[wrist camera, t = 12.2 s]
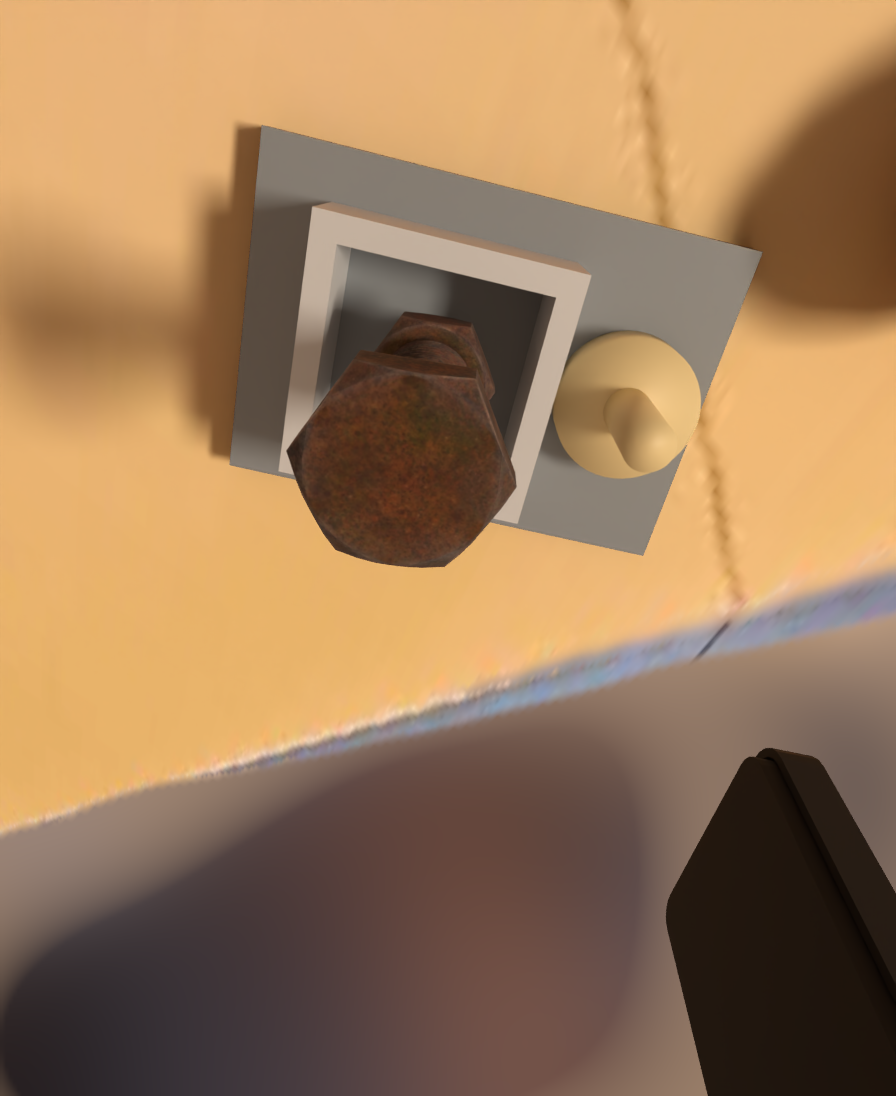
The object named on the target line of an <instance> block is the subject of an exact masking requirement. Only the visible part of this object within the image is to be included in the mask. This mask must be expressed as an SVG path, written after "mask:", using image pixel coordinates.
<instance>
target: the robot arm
mask: <svg viewBox="0 0 896 1096" xmlns="http://www.w3.org/2000/svg"><path fill="white" fill-rule="evenodd" d="M666 924H667V930H668V934H669V938H670V942H671V946H672V950H673V954H674V959H675V962H676V967H677V971H678V975H679V979H680V983H681V987H682V992H683V996H684V1000H685V1004H686V1008H687V1012H688V1016H689V1020H690V1024H691V1028H692V1032H693V1037H694V1041H695V1045H696V1049H697V1053H698V1057H699V1061H700V1065H701V1069H702V1074H703V1078H704V1082H705V1086H706V1090H707V1094H708V1096H896V893H895V891H894V889H893V887H892V886H891V884H890V882H889V880H888V879H887V877H886V875H885V873H884V872H883V870H882V868H881V866H880V865H879V863H878V861H877V859H876V858H875V856H874V854H873V852H872V851H871V849H870V847H869V845H868V844H867V842H866V840H865V838H864V836H863V835H862V833H861V832H860V829H859V828H858V826H857V824H856V822H855V821H854V819H853V817H852V815H851V814H850V812H849V810H848V808H847V807H846V805H845V803H844V801H843V800H842V798H841V796H840V794H839V792H838V791H837V789H836V787H835V786H834V784H833V782H832V780H831V779H830V777H829V775H828V773H827V771H826V770H825V768H824V766H823V765H822V764H821V762H820V761H819V760H818V759H816V758H814V757H812V756H808V755H803V754H798V753H793V752H788V751H783V750H778V749H773V748H765V749H763V750H762V751H760V752H759V753H758V755H757V756H756V757H748V758H746V759H745V760H744V761H743V763H742V764H741V766H740V768H739V769H738V771H737V774H736V775H735V777H734V779H733V780H732V782H731V784H730V786H729V788H728V790H727V792H726V793H725V795H724V797H723V799H722V801H721V803H720V804H719V806H718V808H717V810H716V812H715V814H714V816H713V817H712V819H711V821H710V823H709V825H708V826H707V828H706V830H705V832H704V834H703V836H702V837H701V839H700V841H699V843H698V845H697V847H696V849H695V850H694V852H693V854H692V856H691V858H690V859H689V861H688V863H687V865H686V867H685V869H684V871H683V873H682V874H681V876H680V878H679V880H678V882H677V884H676V885H675V887H674V889H673V891H672V893H671V894H670V897H669V899H668V903H667V909H666Z"/></svg>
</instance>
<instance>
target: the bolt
mask: <svg viewBox="0 0 896 1096" xmlns="http://www.w3.org/2000/svg"><path fill="white" fill-rule="evenodd" d="M494 393H495V385H494V382H493V379H492V376H491V373H490V370H489V367H488V364H487V361H486V359H485V356H484V353H483V350H482V348H481V345H480V342H479V340H478V337H477V334H476V332H475V329H474V327H473V324H472V322H468V321H463V320H459V319H455V318H450V317H444V316H439V315H432V314H425V313H416V312H405V311H404V313H403V314H402V315H401V317H400V318H399V319H398V321H397V322H396V323H395V324H394V326H393V327H392V329H391V330H390V331H389V333H388V334H387V335H386V337H385V338H384V339H383V341H382V342H381V343H380V345H379V346H378V347H377V349H376V350H375V351H374V352H371V351H365V350H360V351H359V353H358V354H357V355H356V357H355V358H354V359H353V360H352V362H351V363H350V364H349V366H348V367H347V368H346V370H345V371H344V372H343V374H342V375H341V376H340V377H339V379H338V380H337V381H336V383H335V384H334V386H333V387H332V388H331V390H330V391H329V392H328V394H327V395H326V396H325V398H324V399H323V401H322V402H321V403H320V405H319V406H318V407H317V409H316V410H315V411H314V413H313V414H312V415H311V417H310V418H309V420H308V421H307V422H306V424H305V425H304V426H303V428H302V429H301V430H300V432H299V433H298V434H297V436H296V437H295V439H294V440H293V442H292V443H291V444H290V446H289V447H288V449H287V450H286V452H287V455H288V458H289V461H290V464H291V467H292V470H293V473H294V476H295V478H296V481H297V483H298V486H299V488H300V491H301V493H302V496H303V498H304V500H305V501H306V503H307V505H308V507H309V509H310V511H311V513H312V515H313V516H314V518H315V520H316V522H317V524H318V525H319V527H320V529H321V530H322V532H323V534H324V535H325V537H326V538H327V539H328V540H329V542H330V543H331V544H332V546H333V547H334V548H335V550H338V551H340V552H343V553H346V554H348V555H351V556H354V557H356V558H360V559H364V560H367V561H371V562H375V563H381V564H387V565H395V566H403V567H419V568H425V567H445V566H446V565H447V564H448V563H450V562H451V561H452V560H453V559H455V558H456V557H457V556H458V555H460V554H461V553H462V552H463V551H464V550H465V549H466V548H467V547H468V546H469V545H470V544H471V543H472V542H473V541H474V540H475V539H476V537H477V536H478V535H479V534H480V533H481V532H482V531H483V529H484V528H485V527H486V526H487V525H488V524H489V522H490V521H491V520H492V519H493V518H494V517H495V515H496V514H497V513H498V512H499V511H500V510H501V508H502V507H503V506H504V504H505V503H506V502H507V500H508V499H509V497H510V496H511V495H512V493H513V492H514V490H515V489H516V488H517V485H516V475H515V470H514V468H513V465H512V462H511V460H510V457H509V454H508V451H507V449H506V446H505V443H504V441H503V438H502V435H501V433H500V430H499V427H498V424H497V422H496V419H495V416H494V414H493V411H492V408H491V405H490V403H489V400H490V399H491V397H492V396H493V395H494Z"/></svg>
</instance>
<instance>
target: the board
mask: <svg viewBox="0 0 896 1096" xmlns="http://www.w3.org/2000/svg"><path fill="white" fill-rule="evenodd" d="M762 253H763V252H761V251H757V250H754V249H750V248H746V247H742V246H738V245H734V244H730V243H726V242H722V241H719V240H715V239H711V238H707V237H703V236H699V235H695V234H691V233H687V232H683V231H679V230H675V229H671V228H667V227H663V226H659V225H655V224H651V223H648V222H644V221H640V220H636V219H632V218H628V217H624V216H620V215H616V214H612V213H608V212H604V211H600V210H596V209H592V208H588V207H584V206H580V205H577V204H573V203H569V202H565V201H561V200H557V199H553V198H549V197H545V196H541V195H537V194H533V193H529V192H525V191H521V190H517V189H513V188H509V187H505V186H502V185H498V184H494V183H490V182H486V181H482V180H478V179H474V178H470V177H466V176H462V175H458V174H454V173H450V172H446V171H442V170H438V169H434V168H431V167H427V166H423V165H419V164H415V163H411V162H407V161H403V160H399V159H395V158H391V157H387V156H383V155H379V154H375V153H371V152H367V151H363V150H359V149H356V148H352V147H348V146H344V145H340V144H336V143H332V142H328V141H324V140H320V139H316V138H312V137H308V136H304V135H300V134H296V133H292V132H288V131H285V130H281V129H277V128H273V127H268V126H263V125H262V128H261V138H260V149H259V159H258V170H257V180H256V191H255V202H254V212H253V223H252V233H251V244H250V254H249V265H248V275H247V286H246V296H245V307H244V318H243V328H242V339H241V349H240V360H239V370H238V381H237V391H236V402H235V412H234V423H233V434H232V444H231V455H230V465H232V466H236V467H241V468H245V469H250V470H254V471H259V472H264V473H268V474H273V475H277V476H282V477H286V478H291V479H295V480H296V478H295V476H294V473H293V470H292V467H291V464H290V461H289V458H288V455H287V452H286V450H287V449H288V447H289V446H290V444H291V443H292V442H293V440H294V439H295V437H296V436H297V434H298V433H299V432H300V430H301V429H302V428H303V426H304V425H305V424H306V422H307V421H308V420H309V418H310V417H311V415H312V414H313V413H314V411H315V410H316V409H317V407H318V406H319V405H320V403H321V402H322V401H323V399H324V398H325V396H326V395H327V394H328V392H329V391H330V390H331V388H332V387H333V386H334V384H335V383H336V381H337V380H338V379H339V377H340V376H341V375H342V374H343V372H344V371H345V370H346V368H347V367H348V366H349V364H350V363H351V362H352V360H353V359H354V358H355V357H356V355H357V354H358V353H359V351H360V350H365V351H371V352H374V351H375V350H376V349H377V347H378V346H379V345H380V343H381V342H382V341H383V339H384V338H385V337H386V335H387V334H388V333H389V331H390V330H391V329H392V327H393V326H394V324H395V323H396V322H397V321H398V319H399V318H400V317H401V315H402V314H403V313H404V311H405V312H416V313H425V314H432V315H439V316H444V317H450V318H455V319H459V320H463V321H468V322H472V324H473V327H474V329H475V332H476V334H477V337H478V340H479V342H480V345H481V348H482V350H483V353H484V356H485V359H486V361H487V364H488V367H489V370H490V373H491V376H492V379H493V382H494V385H495V393H494V395H493V396H492V397H491V399H490V400H489V403H490V405H491V408H492V411H493V414H494V416H495V419H496V422H497V424H498V427H499V430H500V433H501V435H502V438H503V441H504V443H505V446H506V449H507V451H508V454H509V457H510V460H511V462H512V465H513V468H514V470H515V475H516V485H517V488H516V489H515V490H514V492H513V493H512V495H511V496H510V497H509V499H508V500H507V502H506V503H505V504H504V506H503V507H502V508H501V510H500V511H499V512H498V513H497V514H496V515H495V517H494V518H493V519H492V520H491V521H490V522H491V523H496V524H500V525H505V526H510V527H514V528H519V529H523V530H528V531H532V532H537V533H541V534H546V535H551V536H555V537H560V538H564V539H569V540H573V541H578V542H582V543H587V544H592V545H596V546H601V547H605V548H610V549H614V550H619V551H624V552H628V553H633V554H637V555H642V556H643V555H644V552H645V550H646V547H647V545H648V542H649V540H650V537H651V534H652V532H653V529H654V527H655V524H656V522H657V519H658V517H659V514H660V512H661V509H662V507H663V504H664V502H665V499H666V496H667V494H668V491H669V489H670V486H671V484H672V481H673V479H674V476H675V474H676V471H677V469H678V466H679V463H680V461H681V458H682V456H683V453H684V451H685V448H686V446H687V443H688V442H689V440H690V438H691V437H692V435H693V433H694V431H695V429H696V426H697V423H698V420H699V415H700V410H701V408H702V405H703V403H704V400H705V398H706V395H707V393H708V390H709V387H710V385H711V382H712V380H713V377H714V375H715V372H716V370H717V367H718V365H719V362H720V360H721V357H722V354H723V352H724V349H725V347H726V344H727V342H728V339H729V337H730V334H731V332H732V329H733V327H734V324H735V322H736V319H737V316H738V314H739V311H740V309H741V306H742V304H743V301H744V299H745V296H746V294H747V291H748V289H749V286H750V284H751V281H752V278H753V276H754V273H755V271H756V268H757V266H758V263H759V261H760V258H761V256H762Z"/></svg>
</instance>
